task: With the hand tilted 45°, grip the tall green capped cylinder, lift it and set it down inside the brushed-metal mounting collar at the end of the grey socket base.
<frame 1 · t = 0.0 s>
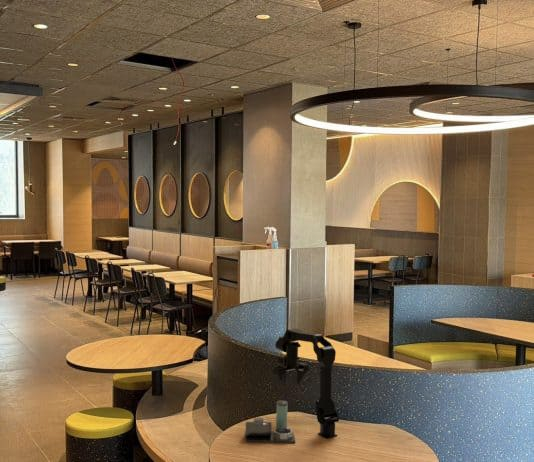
hand: (290, 386, 290), 14 cm above the table, tool pointing down, fingers open, 9 cm apart
green capped cylinder: (281, 430, 272), on the table
grey socket base: (282, 438, 262), on the table
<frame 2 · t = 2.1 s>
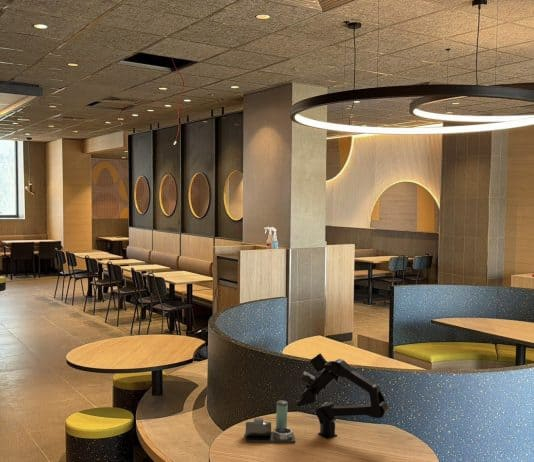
hand: (298, 402, 270), 14 cm above the table, tool tilted 45°, fingers open, 9 cm apart
nothing on the table moved.
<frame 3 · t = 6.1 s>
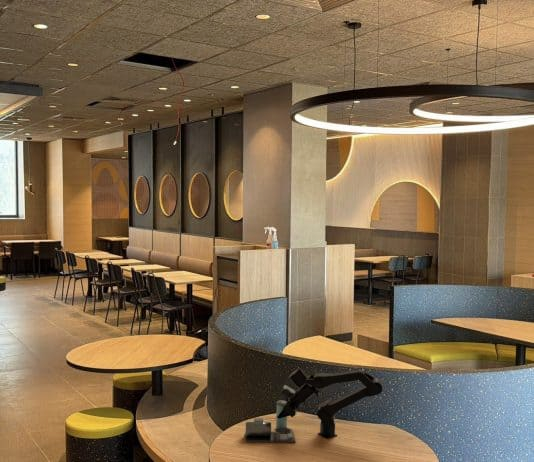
hand: (278, 415, 271), 7 cm above the table, tool tilted 45°, fingers closed on green capped cylinder, 5 cm apart
green capped cylinder: (281, 430, 272), on the table, touching gripper
when the fingers open (9 cm above the table, at t = 9.9 s): green capped cylinder drops 1 cm, resting on grey socket base.
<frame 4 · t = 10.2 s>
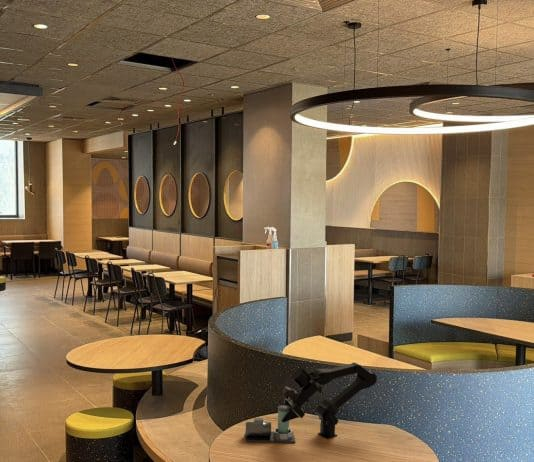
hand: (280, 418, 261), 9 cm above the table, tool tilted 45°, fingers open, 7 cm apart
green capped cylinder: (283, 435, 262), point 1 cm above the table, touching grey socket base
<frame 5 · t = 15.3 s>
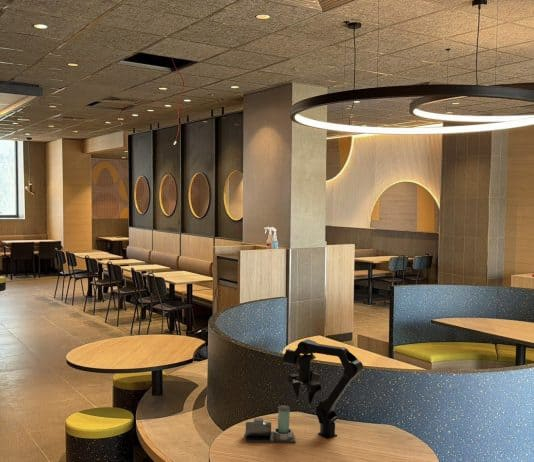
hand: (303, 400, 274), 13 cm above the table, tool pointing down, fingers open, 9 cm apart
nothing on the table moved.
at the end: green capped cylinder 0.1 cm from the grey socket base (horizontally); green capped cylinder point 1.0 cm above the table; green capped cylinder tilted 0° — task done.
